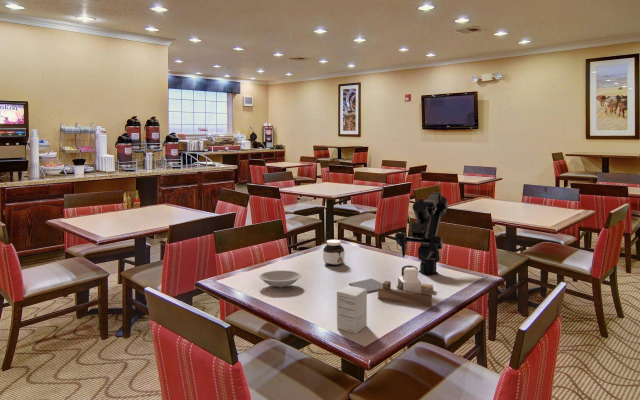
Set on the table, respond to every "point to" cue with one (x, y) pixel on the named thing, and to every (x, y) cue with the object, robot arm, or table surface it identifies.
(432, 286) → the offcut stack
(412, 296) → the walnut rack
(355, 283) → the rubber mat
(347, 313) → the supplement box
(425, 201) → the robot arm
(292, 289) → the table surface
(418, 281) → the medicine bottle
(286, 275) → the dish
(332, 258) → the spread jar
